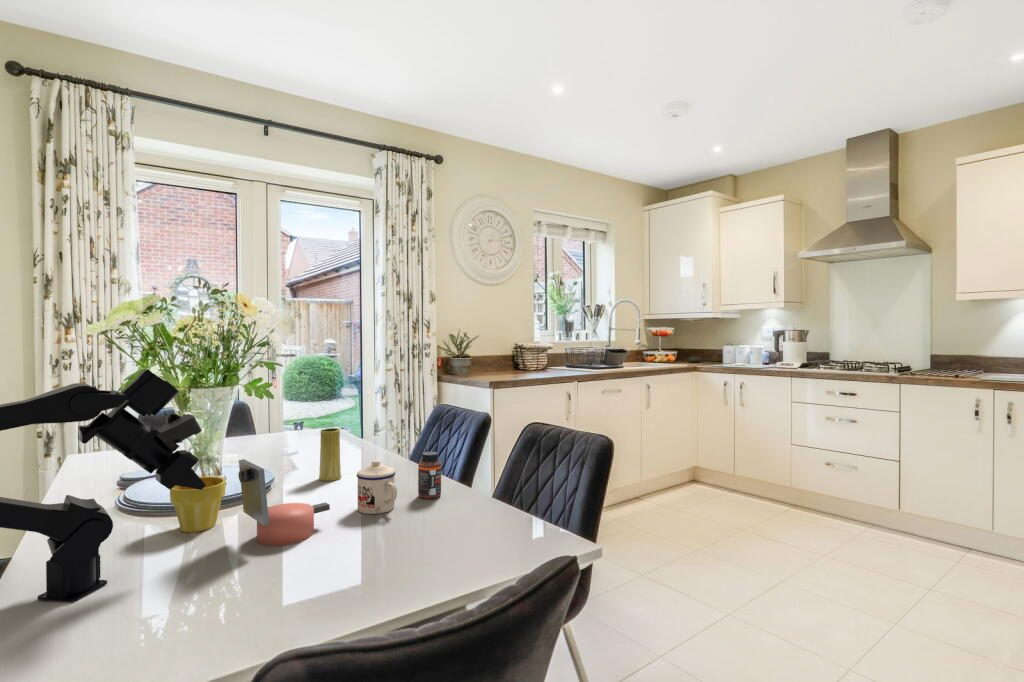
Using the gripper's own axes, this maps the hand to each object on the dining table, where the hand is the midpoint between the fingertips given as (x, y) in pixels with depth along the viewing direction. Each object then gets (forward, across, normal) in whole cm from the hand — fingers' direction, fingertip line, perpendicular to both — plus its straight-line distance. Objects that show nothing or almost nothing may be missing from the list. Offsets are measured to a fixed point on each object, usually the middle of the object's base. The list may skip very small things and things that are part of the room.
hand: (203, 487), depth 100 cm
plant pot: (+12, +18, +7) cm, 23 cm away
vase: (+39, +34, -20) cm, 56 cm away
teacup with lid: (+36, 0, -17) cm, 40 cm away
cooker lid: (+9, 0, -5) cm, 10 cm away
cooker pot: (+22, 0, -3) cm, 22 cm away
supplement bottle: (+47, 0, -28) cm, 55 cm away
